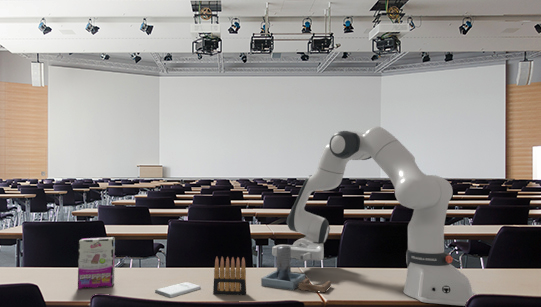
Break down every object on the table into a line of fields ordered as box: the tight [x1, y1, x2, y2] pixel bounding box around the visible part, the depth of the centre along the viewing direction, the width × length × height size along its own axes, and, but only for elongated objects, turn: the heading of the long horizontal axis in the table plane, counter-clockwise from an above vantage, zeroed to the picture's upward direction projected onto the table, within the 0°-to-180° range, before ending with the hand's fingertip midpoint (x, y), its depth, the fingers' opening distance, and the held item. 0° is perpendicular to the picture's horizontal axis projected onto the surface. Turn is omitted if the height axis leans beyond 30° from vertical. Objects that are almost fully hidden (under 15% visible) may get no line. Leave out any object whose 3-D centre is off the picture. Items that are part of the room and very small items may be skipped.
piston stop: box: [276, 246, 292, 281], centre depth 137 cm, size 5×5×12 cm
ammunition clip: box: [212, 256, 247, 296], centre depth 125 cm, size 11×2×12 cm, turn 86°
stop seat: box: [298, 277, 332, 293], centre depth 131 cm, size 9×8×2 cm
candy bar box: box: [77, 236, 116, 290], centre depth 133 cm, size 11×5×16 cm, turn 105°
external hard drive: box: [154, 281, 202, 298], centre depth 128 cm, size 2×8×12 cm
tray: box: [260, 270, 306, 291], centre depth 137 cm, size 12×12×2 cm
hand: (290, 256), depth 143 cm, fingers open, 8 cm apart
